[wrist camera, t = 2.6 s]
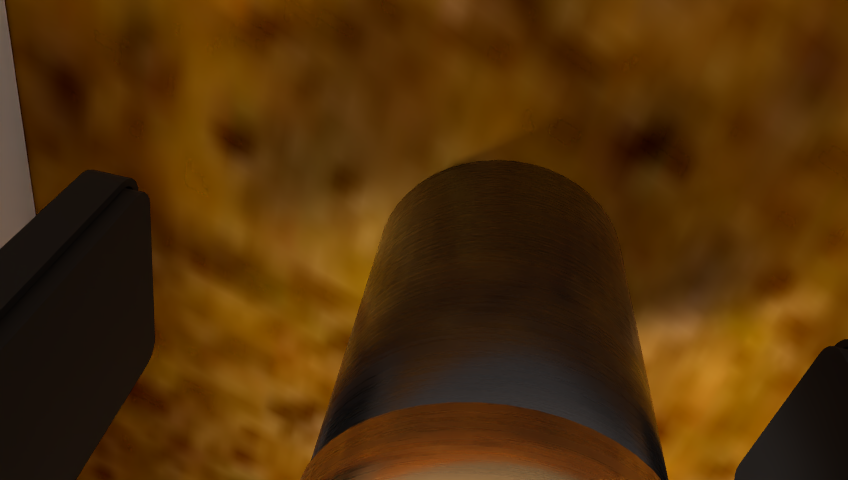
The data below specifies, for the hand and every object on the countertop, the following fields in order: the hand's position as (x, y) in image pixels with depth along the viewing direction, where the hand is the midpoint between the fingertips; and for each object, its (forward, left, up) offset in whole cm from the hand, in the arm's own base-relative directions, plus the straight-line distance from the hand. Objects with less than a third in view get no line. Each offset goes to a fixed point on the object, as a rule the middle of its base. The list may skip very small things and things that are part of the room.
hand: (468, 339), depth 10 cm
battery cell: (0, 0, -2) cm, 2 cm away
